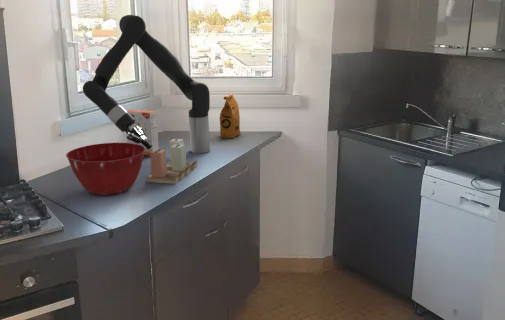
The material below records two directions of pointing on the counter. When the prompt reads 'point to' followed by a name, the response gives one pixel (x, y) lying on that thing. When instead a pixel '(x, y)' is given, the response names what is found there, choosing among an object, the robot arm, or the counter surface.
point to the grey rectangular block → (175, 141)
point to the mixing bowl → (107, 166)
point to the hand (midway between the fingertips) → (150, 147)
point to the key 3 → (158, 163)
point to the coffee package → (230, 118)
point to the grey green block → (178, 157)
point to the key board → (173, 174)
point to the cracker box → (146, 128)
